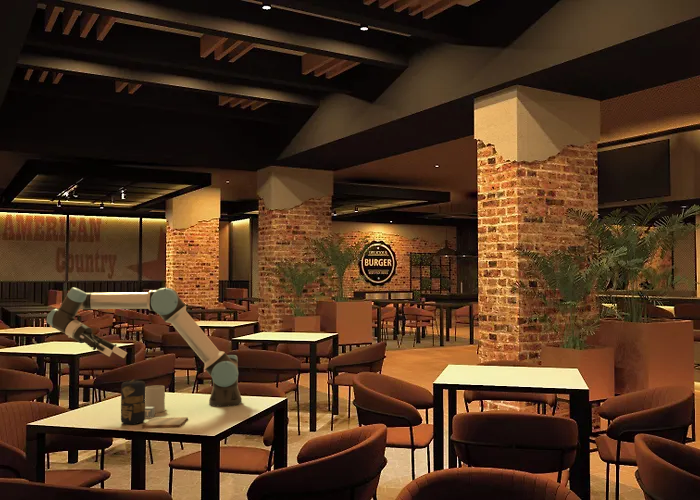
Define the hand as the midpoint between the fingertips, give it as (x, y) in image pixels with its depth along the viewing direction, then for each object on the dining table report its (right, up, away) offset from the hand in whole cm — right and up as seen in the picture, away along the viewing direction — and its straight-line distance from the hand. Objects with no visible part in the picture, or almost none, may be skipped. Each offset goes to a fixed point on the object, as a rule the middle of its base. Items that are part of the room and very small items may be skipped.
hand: (118, 354), depth 287 cm
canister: (+10, -27, -11) cm, 31 cm away
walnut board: (+24, -26, -14) cm, 38 cm away
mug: (+12, -28, +16) cm, 34 cm away
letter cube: (+13, -27, +2) cm, 30 cm away
